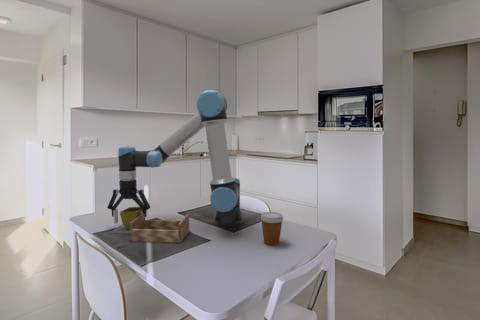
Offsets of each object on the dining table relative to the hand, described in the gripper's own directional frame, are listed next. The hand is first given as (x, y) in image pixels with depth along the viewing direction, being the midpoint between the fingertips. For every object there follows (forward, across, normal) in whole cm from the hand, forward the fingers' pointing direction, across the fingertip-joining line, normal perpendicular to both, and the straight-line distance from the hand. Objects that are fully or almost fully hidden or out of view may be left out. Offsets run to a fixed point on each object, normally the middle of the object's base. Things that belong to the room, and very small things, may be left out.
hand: (129, 223), depth 140 cm
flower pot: (+2, -2, 0) cm, 3 cm away
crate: (+3, -18, +8) cm, 20 cm away
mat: (+3, 0, 0) cm, 3 cm away
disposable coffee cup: (+3, -67, +12) cm, 68 cm away
